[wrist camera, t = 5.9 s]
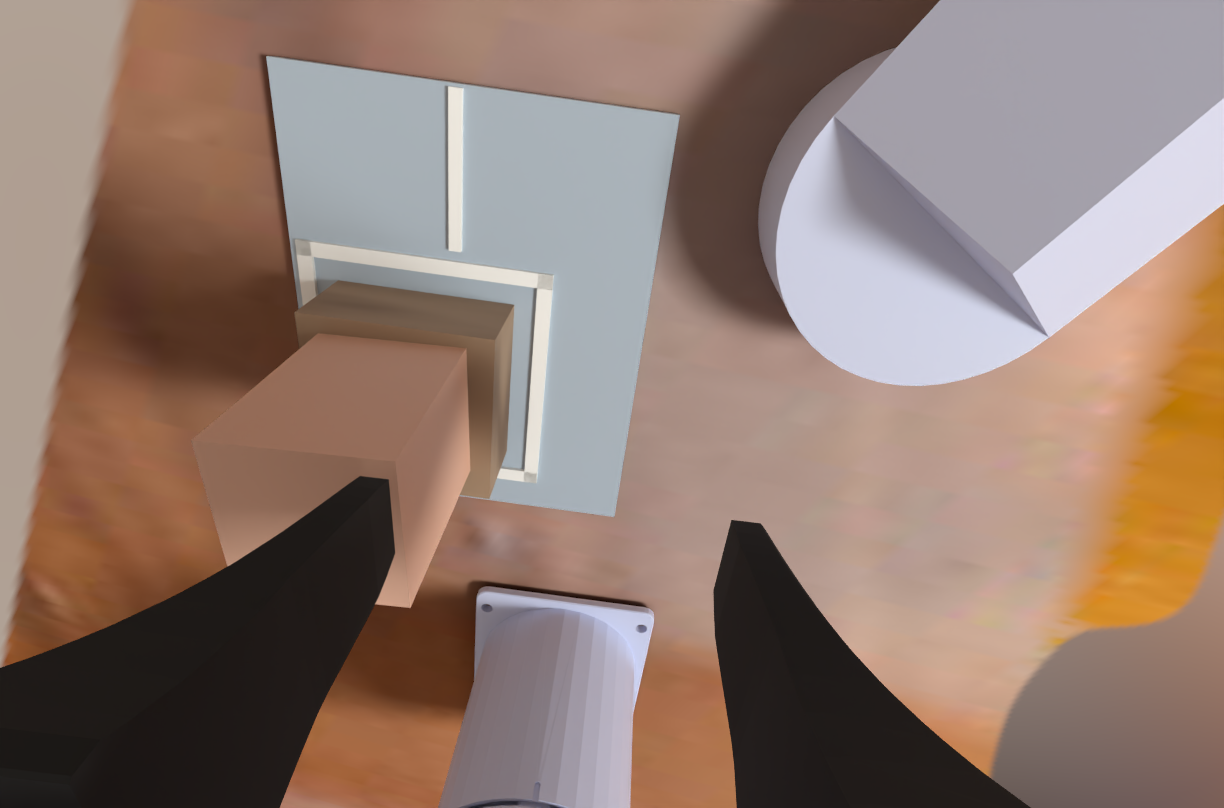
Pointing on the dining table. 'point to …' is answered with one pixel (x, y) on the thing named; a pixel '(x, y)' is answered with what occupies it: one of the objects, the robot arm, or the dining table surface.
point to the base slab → (434, 324)
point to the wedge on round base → (993, 179)
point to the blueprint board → (492, 239)
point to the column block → (344, 446)
